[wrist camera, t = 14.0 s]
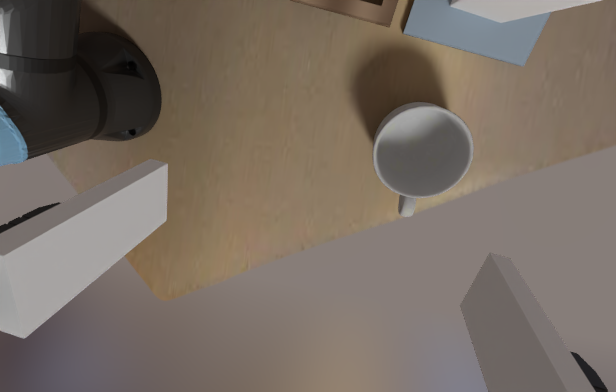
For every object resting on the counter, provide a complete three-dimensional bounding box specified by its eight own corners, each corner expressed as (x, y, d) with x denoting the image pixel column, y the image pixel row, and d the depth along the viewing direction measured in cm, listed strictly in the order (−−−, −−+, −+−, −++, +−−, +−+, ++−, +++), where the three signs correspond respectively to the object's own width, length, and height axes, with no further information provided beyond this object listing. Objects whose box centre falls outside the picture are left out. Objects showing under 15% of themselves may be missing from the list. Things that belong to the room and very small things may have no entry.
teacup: (391, 85, 42) (393, 92, 35) (474, 112, 41) (494, 125, 34) (355, 181, 48) (350, 204, 41) (427, 206, 47) (435, 234, 40)
